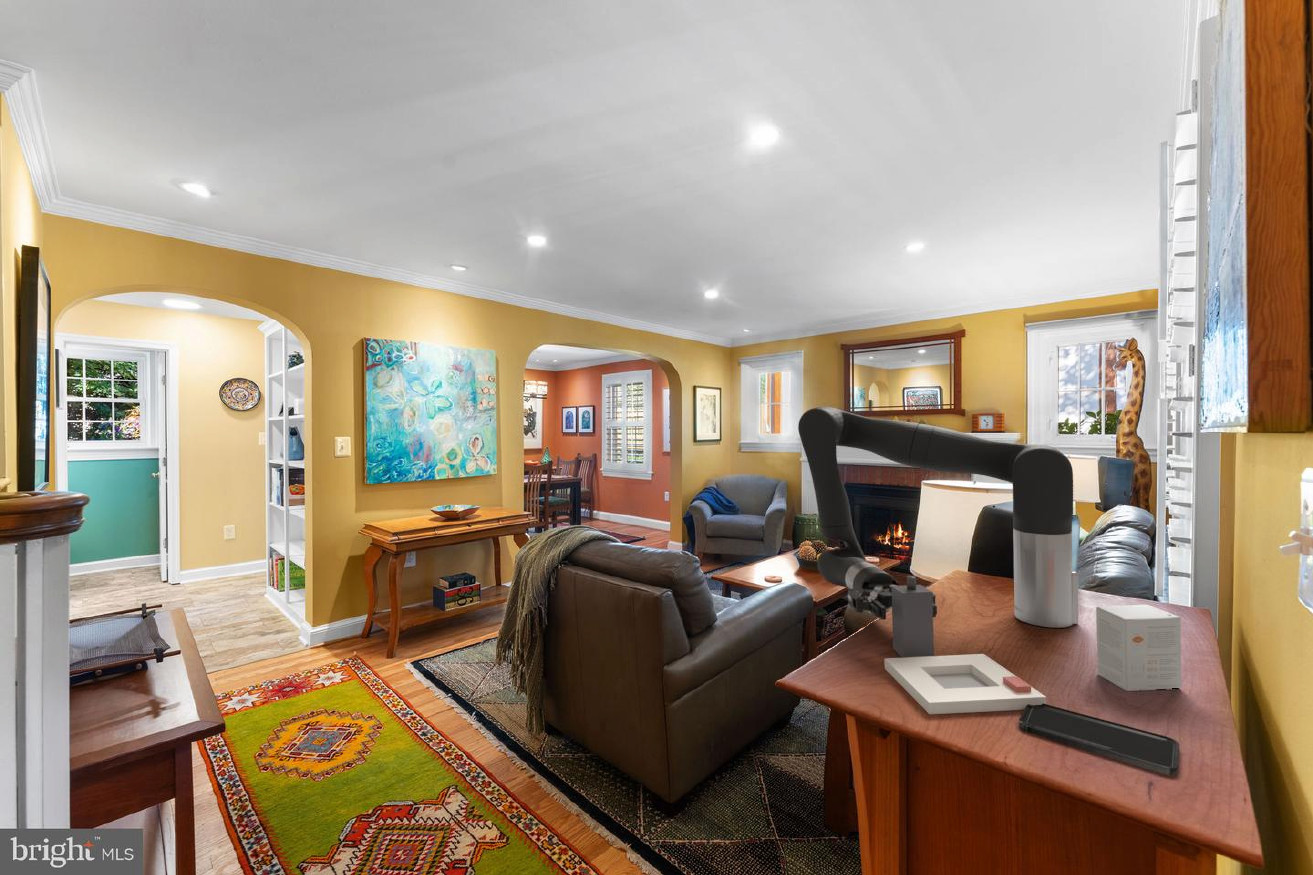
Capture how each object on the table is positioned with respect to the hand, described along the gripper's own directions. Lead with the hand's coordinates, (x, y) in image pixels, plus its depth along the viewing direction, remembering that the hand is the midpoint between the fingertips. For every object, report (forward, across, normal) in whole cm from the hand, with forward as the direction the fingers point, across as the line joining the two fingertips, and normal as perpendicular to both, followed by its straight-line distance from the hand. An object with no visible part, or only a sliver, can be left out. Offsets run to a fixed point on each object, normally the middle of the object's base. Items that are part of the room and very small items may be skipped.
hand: (909, 612), depth 96 cm
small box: (+14, +27, +7) cm, 31 cm away
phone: (+27, +10, +7) cm, 30 cm away
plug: (+1, 0, +7) cm, 7 cm away
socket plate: (+13, +1, +6) cm, 15 cm away
